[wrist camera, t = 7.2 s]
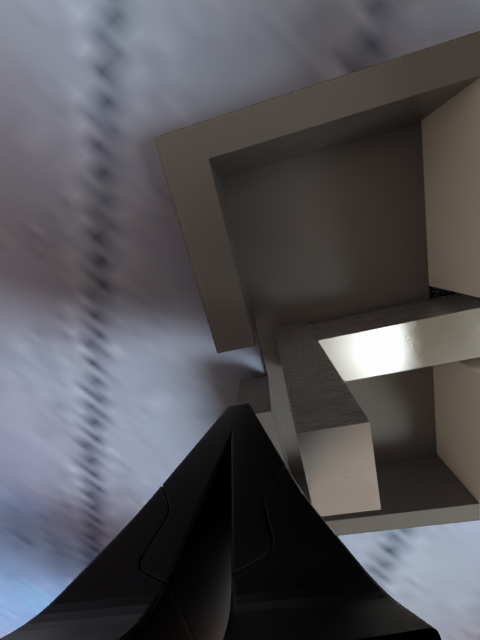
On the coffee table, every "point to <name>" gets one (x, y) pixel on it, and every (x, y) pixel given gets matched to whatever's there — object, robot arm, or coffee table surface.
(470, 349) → the slider
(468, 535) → the coffee table surface
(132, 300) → the coffee table surface
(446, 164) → the track
